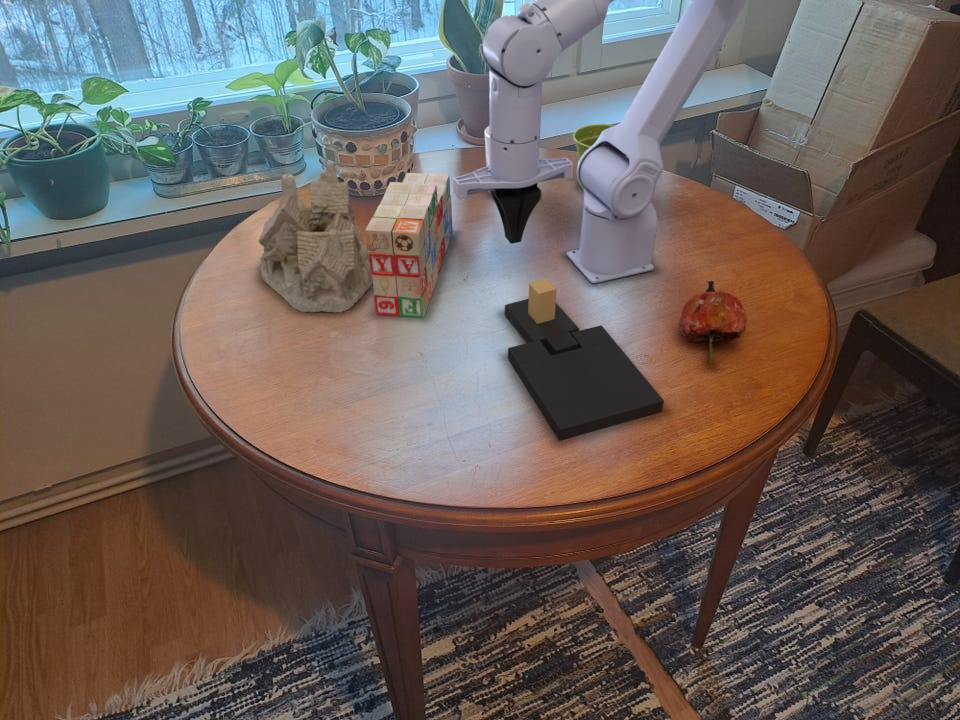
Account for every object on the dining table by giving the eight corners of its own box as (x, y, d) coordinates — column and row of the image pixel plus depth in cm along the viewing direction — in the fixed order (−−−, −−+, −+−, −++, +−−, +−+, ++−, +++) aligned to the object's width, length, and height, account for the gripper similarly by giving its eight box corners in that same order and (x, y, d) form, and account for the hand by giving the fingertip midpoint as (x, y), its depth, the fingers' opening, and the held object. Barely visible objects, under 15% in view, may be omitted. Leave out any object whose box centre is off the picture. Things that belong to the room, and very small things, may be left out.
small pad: (589, 350, 83) (593, 309, 79) (543, 364, 81) (546, 322, 77) (546, 303, 90) (549, 263, 86) (504, 315, 88) (505, 274, 85)
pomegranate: (740, 375, 83) (748, 294, 85) (744, 359, 76) (753, 272, 78) (675, 368, 85) (684, 289, 87) (673, 352, 78) (684, 268, 80)
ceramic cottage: (278, 241, 102) (258, 145, 92) (389, 255, 100) (380, 158, 90) (233, 309, 91) (204, 208, 81) (356, 326, 89) (342, 225, 79)
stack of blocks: (411, 230, 105) (405, 151, 97) (453, 233, 104) (450, 153, 96) (375, 315, 89) (364, 228, 81) (424, 319, 88) (418, 231, 80)
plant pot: (612, 206, 110) (619, 153, 104) (559, 191, 114) (562, 139, 108) (636, 183, 116) (644, 131, 110) (585, 169, 120) (589, 119, 114)
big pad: (661, 411, 75) (664, 400, 74) (559, 441, 72) (560, 429, 71) (600, 335, 85) (601, 325, 84) (507, 358, 82) (507, 347, 81)
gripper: (558, 112, 85) (552, 214, 93) (443, 130, 81) (448, 234, 90) (584, 134, 80) (576, 239, 88) (463, 154, 76) (466, 262, 85)
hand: (513, 239), depth 89 cm, fingers closed
